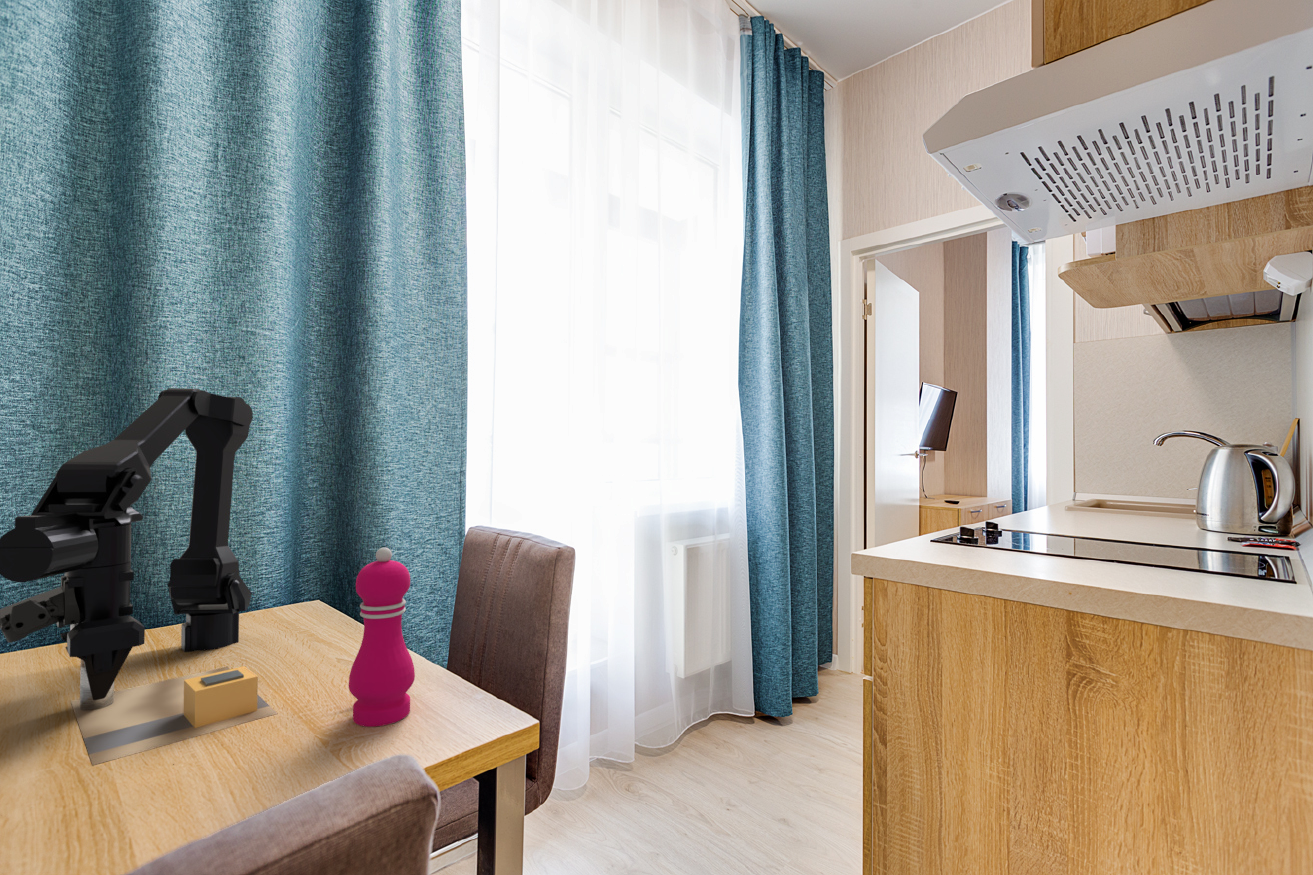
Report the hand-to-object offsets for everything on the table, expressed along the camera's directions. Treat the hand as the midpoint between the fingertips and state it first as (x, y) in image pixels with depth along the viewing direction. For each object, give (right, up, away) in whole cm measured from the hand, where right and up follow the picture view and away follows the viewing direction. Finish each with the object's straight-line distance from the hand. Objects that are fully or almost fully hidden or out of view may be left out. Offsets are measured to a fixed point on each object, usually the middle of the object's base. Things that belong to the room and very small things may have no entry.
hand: (97, 694), depth 74 cm
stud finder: (+16, -1, -2) cm, 16 cm away
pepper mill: (+34, -3, 0) cm, 34 cm away
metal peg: (0, -1, 0) cm, 1 cm away
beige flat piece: (+9, -2, 0) cm, 9 cm away
